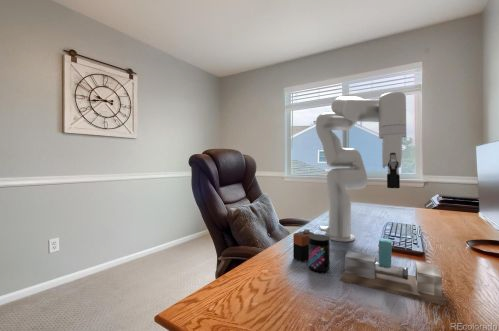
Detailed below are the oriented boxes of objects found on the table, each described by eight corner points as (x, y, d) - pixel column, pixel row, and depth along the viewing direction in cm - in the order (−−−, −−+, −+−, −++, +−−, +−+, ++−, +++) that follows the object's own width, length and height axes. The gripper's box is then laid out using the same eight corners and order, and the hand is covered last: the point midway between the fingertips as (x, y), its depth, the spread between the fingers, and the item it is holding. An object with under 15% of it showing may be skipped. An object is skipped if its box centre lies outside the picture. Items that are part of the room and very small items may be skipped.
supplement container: (304, 265, 81) (304, 234, 81) (323, 264, 82) (323, 233, 82) (313, 275, 74) (313, 241, 74) (333, 273, 76) (334, 239, 75)
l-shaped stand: (347, 268, 74) (347, 236, 74) (348, 265, 77) (349, 233, 77) (407, 281, 66) (408, 245, 66) (407, 277, 69) (407, 241, 69)
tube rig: (340, 280, 71) (340, 259, 71) (347, 265, 81) (348, 247, 81) (445, 305, 59) (445, 280, 59) (438, 284, 69) (438, 263, 69)
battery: (314, 258, 87) (314, 230, 87) (302, 263, 83) (302, 233, 83) (305, 254, 91) (305, 227, 91) (292, 259, 87) (292, 231, 87)
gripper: (379, 136, 86) (380, 185, 86) (378, 129, 71) (378, 188, 71) (404, 135, 83) (405, 186, 82) (408, 127, 68) (409, 189, 67)
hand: (393, 187), depth 77 cm, fingers open, 9 cm apart
